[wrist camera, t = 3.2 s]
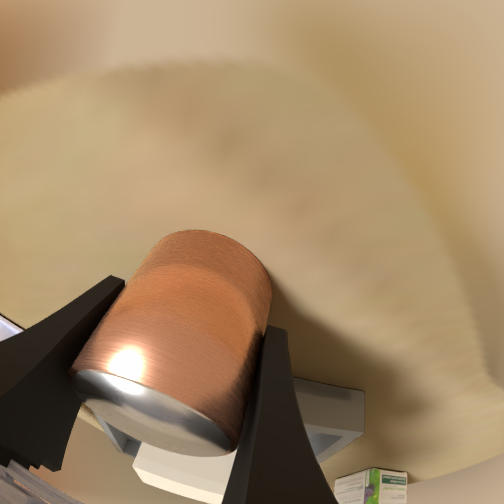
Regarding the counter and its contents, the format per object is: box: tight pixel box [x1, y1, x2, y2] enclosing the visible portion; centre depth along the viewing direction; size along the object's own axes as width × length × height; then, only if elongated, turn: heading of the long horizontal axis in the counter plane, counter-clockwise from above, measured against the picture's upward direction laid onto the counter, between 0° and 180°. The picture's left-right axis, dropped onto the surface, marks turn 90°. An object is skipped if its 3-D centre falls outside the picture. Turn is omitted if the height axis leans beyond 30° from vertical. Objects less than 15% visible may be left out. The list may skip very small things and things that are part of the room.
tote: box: [94, 377, 365, 464], centre depth 20 cm, size 16×21×2 cm
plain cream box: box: [133, 442, 237, 504], centre depth 22 cm, size 8×8×4 cm
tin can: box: [68, 230, 272, 457], centre depth 10 cm, size 5×5×6 cm
